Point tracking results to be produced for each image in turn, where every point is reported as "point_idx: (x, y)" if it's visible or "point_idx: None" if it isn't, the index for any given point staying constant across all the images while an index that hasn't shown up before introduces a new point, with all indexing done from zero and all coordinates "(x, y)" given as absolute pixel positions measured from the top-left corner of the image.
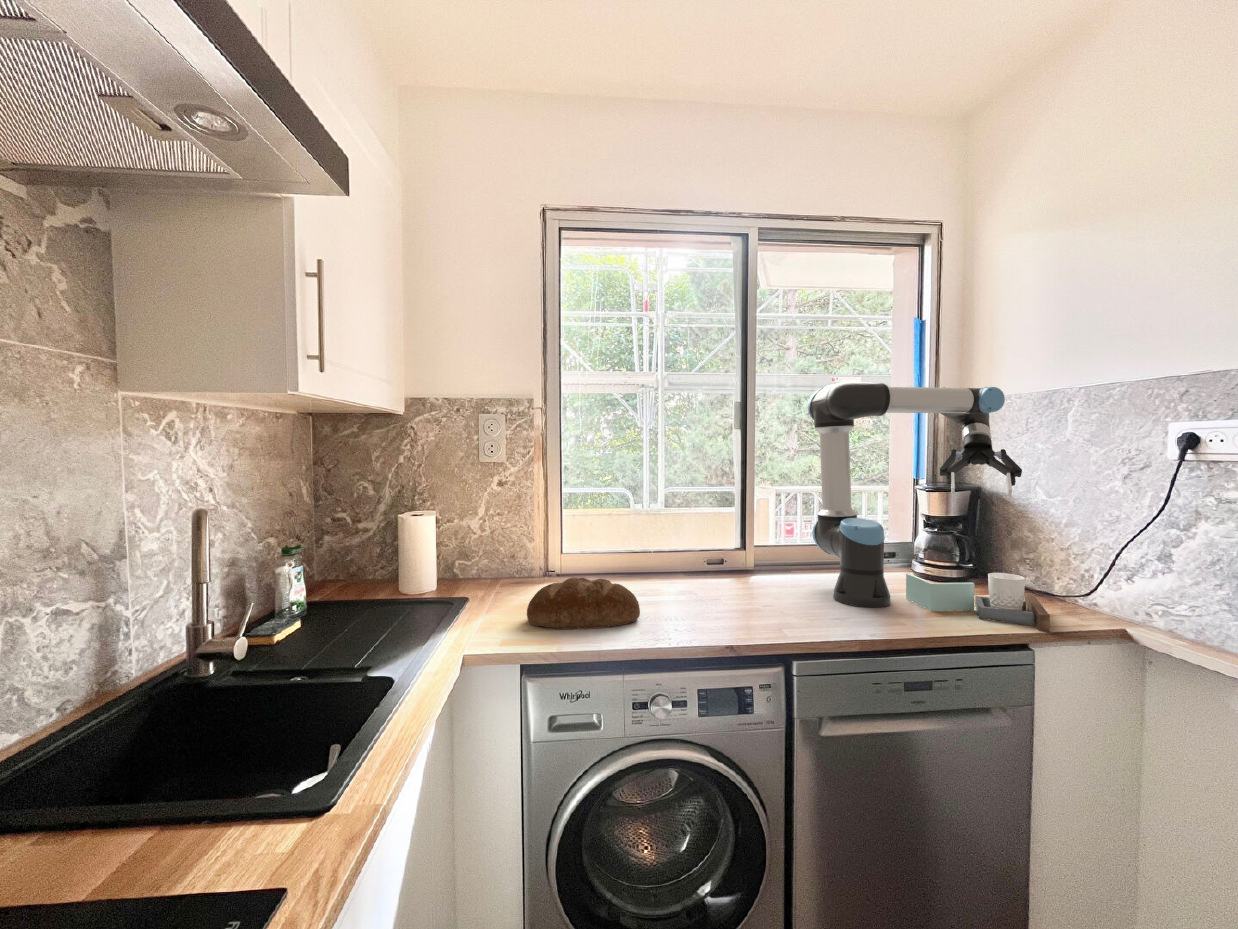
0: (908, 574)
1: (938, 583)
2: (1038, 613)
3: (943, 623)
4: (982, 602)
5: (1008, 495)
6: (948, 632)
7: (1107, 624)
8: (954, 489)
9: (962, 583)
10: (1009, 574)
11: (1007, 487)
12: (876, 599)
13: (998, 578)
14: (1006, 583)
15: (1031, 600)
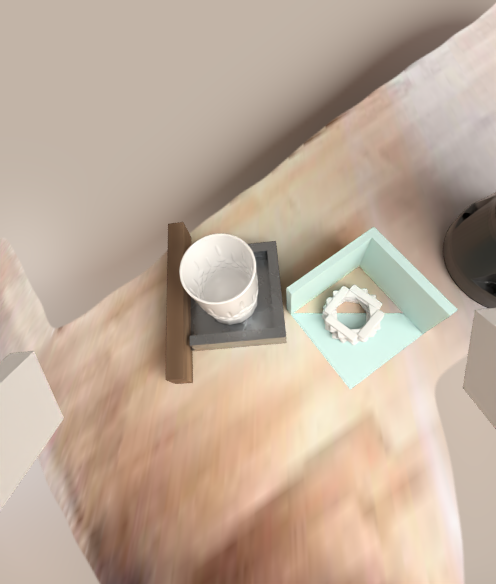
0: (449, 302)
1: (359, 239)
2: (183, 229)
3: (328, 193)
4: (270, 281)
5: (58, 412)
6: (315, 153)
7: (74, 346)
8: (475, 325)
9: (311, 270)
10: (207, 301)
11: (5, 456)
12: (465, 209)
13: (235, 236)
14: (221, 239)
15: (179, 324)
